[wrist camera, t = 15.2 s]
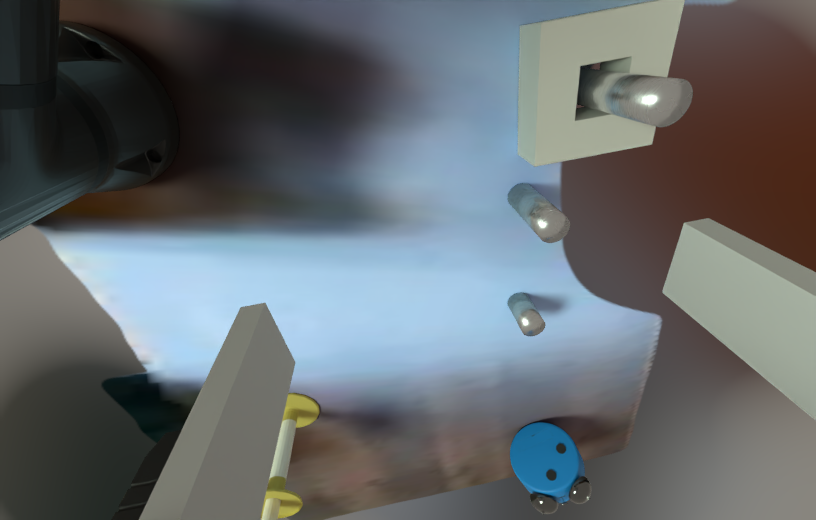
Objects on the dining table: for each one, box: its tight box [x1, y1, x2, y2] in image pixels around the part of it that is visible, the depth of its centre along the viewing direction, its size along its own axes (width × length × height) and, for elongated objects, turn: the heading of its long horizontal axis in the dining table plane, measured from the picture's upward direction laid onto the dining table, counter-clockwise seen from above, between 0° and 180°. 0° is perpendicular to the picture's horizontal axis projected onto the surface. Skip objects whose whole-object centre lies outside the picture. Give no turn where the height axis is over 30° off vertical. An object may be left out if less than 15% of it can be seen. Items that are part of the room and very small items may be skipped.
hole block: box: [518, 0, 685, 167], centre depth 36 cm, size 13×13×5 cm
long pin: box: [577, 68, 693, 127], centre depth 32 cm, size 3×3×14 cm
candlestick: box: [260, 393, 320, 520], centre depth 49 cm, size 10×10×32 cm
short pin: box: [507, 293, 545, 336], centre depth 51 cm, size 3×3×6 cm
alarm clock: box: [510, 422, 591, 514], centre depth 68 cm, size 13×6×15 cm, turn 118°
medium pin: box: [508, 183, 570, 243], centre depth 40 cm, size 3×3×10 cm
